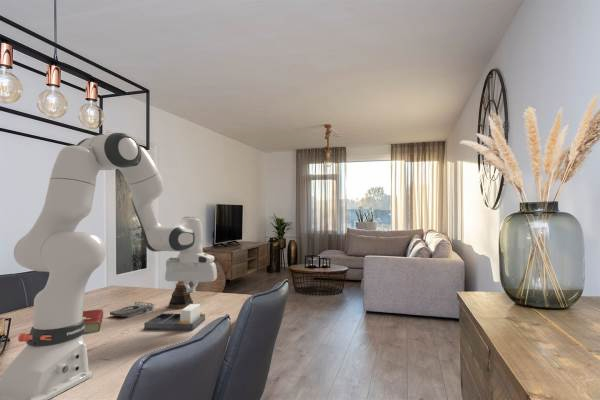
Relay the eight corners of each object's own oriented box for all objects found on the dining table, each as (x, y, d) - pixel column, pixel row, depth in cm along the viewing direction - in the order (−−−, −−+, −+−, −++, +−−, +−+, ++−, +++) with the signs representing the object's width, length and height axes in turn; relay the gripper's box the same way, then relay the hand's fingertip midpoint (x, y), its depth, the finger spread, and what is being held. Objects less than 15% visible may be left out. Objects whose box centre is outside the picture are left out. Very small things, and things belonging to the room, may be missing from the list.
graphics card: (136, 300, 167) (155, 302, 162) (136, 308, 167) (155, 310, 162) (103, 310, 151) (123, 312, 146) (103, 318, 151) (123, 321, 146)
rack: (192, 330, 131) (192, 322, 131) (144, 329, 133) (144, 321, 133) (205, 320, 145) (205, 312, 145) (161, 319, 146) (161, 311, 147)
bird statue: (202, 300, 179) (203, 231, 181) (204, 306, 167) (205, 232, 169) (168, 303, 174) (169, 232, 176) (167, 309, 162) (168, 233, 163)
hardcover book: (103, 318, 151) (103, 308, 151) (99, 332, 132) (100, 320, 132) (70, 321, 145) (70, 311, 146) (61, 337, 127) (62, 325, 127)
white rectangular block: (190, 326, 133) (190, 310, 133) (180, 326, 133) (180, 310, 134) (200, 319, 143) (200, 304, 143) (190, 318, 143) (190, 304, 144)
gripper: (162, 258, 137) (162, 294, 137) (213, 258, 136) (212, 294, 135) (169, 256, 144) (169, 290, 143) (218, 256, 142) (218, 291, 141)
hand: (191, 292), depth 139 cm, fingers closed
